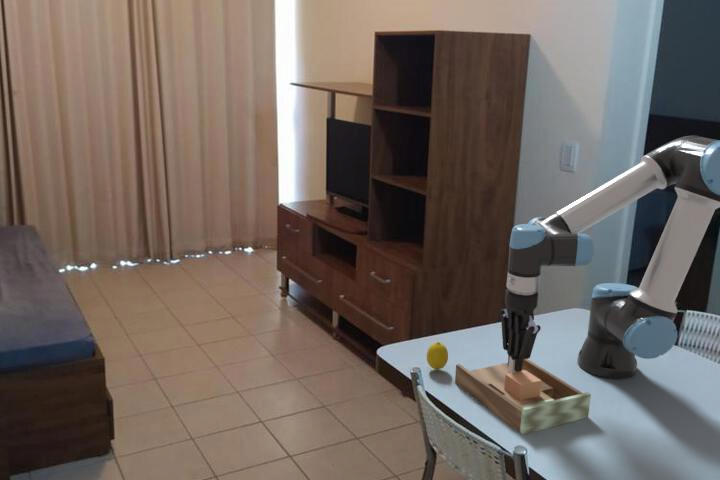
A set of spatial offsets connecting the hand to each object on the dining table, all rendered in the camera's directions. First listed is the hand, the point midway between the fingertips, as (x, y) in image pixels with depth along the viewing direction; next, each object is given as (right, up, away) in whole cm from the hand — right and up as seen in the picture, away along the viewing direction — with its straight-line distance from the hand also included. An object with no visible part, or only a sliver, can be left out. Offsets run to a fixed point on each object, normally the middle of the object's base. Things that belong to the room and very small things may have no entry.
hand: (513, 381), depth 173 cm
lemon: (-17, 0, +13) cm, 22 cm away
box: (+1, -4, -1) cm, 4 cm away
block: (+1, -2, -3) cm, 4 cm away
